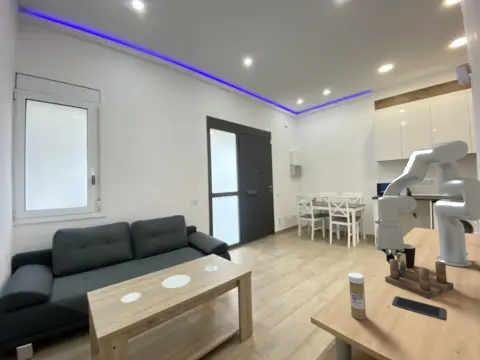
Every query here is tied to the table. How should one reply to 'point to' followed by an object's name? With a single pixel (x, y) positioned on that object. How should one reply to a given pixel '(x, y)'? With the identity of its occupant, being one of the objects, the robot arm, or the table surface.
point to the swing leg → (401, 263)
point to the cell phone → (420, 307)
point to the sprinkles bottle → (357, 295)
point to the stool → (420, 280)
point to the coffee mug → (409, 255)
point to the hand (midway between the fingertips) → (390, 263)
